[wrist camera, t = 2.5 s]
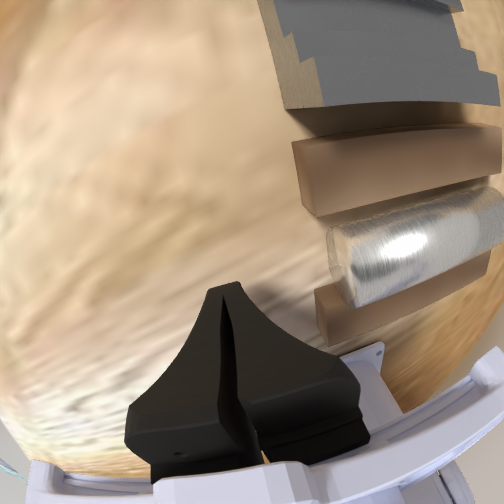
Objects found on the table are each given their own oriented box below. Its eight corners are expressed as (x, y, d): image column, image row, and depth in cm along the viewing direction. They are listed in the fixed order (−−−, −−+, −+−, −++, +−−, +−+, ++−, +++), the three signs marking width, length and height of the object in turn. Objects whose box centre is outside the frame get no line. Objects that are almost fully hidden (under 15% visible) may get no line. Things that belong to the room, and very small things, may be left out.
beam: (471, 263, 18) (485, 274, 16) (317, 327, 17) (328, 346, 15) (481, 123, 12) (501, 127, 11) (291, 142, 12) (305, 146, 10)
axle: (477, 175, 14) (518, 208, 11) (464, 222, 16) (499, 257, 13) (325, 211, 13) (367, 267, 10) (325, 269, 16) (355, 324, 13)
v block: (444, 99, 11) (500, 106, 8) (284, 109, 11) (324, 106, 7) (414, -20, 8) (462, -36, 4) (244, -39, 7) (263, -87, 3)
